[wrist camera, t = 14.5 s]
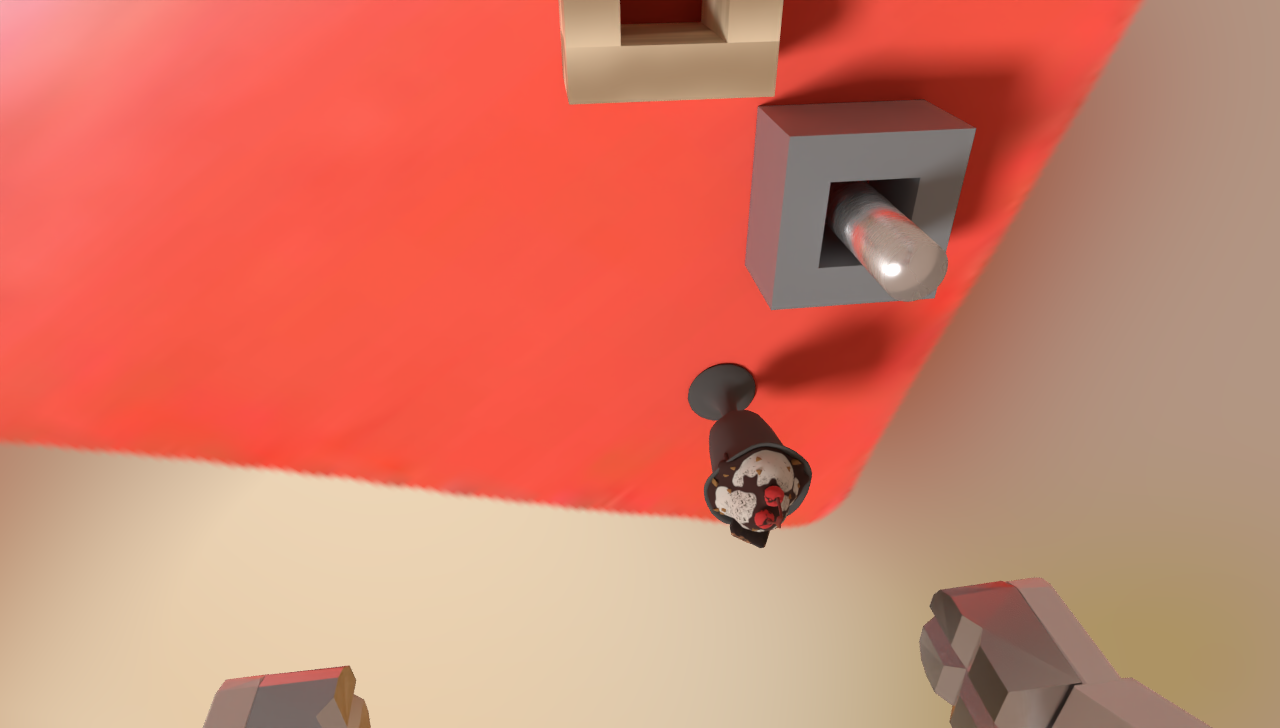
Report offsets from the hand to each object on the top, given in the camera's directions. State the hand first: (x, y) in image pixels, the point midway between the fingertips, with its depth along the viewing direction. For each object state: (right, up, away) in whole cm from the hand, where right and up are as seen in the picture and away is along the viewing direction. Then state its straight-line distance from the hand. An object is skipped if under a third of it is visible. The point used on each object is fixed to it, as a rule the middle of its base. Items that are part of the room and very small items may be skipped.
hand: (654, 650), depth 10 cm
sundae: (+6, +2, +43) cm, 43 cm away
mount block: (+1, +24, +27) cm, 36 cm away
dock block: (+12, +15, +35) cm, 40 cm away
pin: (+11, +15, +35) cm, 40 cm away
